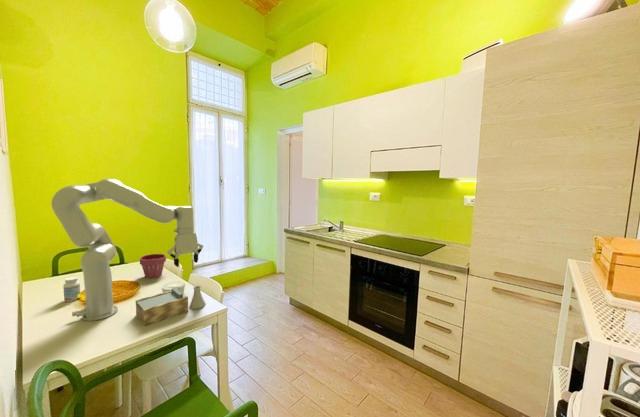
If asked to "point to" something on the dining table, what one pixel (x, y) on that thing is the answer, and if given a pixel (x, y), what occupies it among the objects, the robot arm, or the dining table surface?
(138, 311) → the wooden box
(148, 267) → the plant pot
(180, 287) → the ramekin
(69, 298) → the pill bottle
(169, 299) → the lid
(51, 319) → the dining table surface
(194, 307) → the flask
